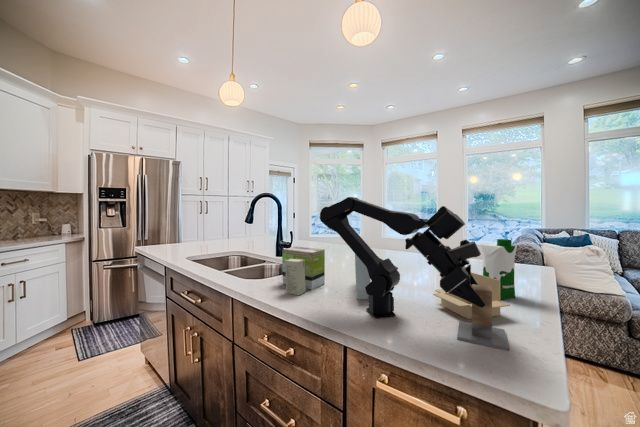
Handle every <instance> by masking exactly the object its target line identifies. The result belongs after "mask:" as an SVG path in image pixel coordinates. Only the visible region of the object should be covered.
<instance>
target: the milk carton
mask: <svg viewBox="0 0 640 427" xmlns="http://www.w3.org/2000/svg"><path fill="white" fill-rule="evenodd" d="M480 248H481V252H482V275H483V276H486V277H490V278H493V279H497V280H500V301H503V300H510V299H515V298H516V290H515V289H516V288H515V259H516V258H515V257H516V253H517V249H518V246H517V245H513V244H512V239H508V238H507V239H506V238H498V239H497V240H496V243H495V242H494V243H482V244H480Z"/></svg>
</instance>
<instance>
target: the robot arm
mask: <svg viewBox="0 0 640 427" xmlns="http://www.w3.org/2000/svg"><path fill="white" fill-rule="evenodd" d="M353 212H355V213H357V214H360V215H363V216H365V217H368V218H371V219H372V220H375V221H378V222H381V223H383V224H384V225H386V226H387V227H388V228H389V229H391V230H393V231H394V232H396V233H398V235H399V234H400V235H402V236H407V235H412V234H414V235H413V236H412V237H411V238H409V237H407V238H405V250H409V249H410V248H412V247H414V248H415V249H416V250H417V251H418V252H419V253H420V254H421V256H423V257H424V258H425V259H426V261H427V264H428V265H429V266H431V265H432V267H434V269H435V270H437V271H438V272H439V276H440V280H439V287H440V288H441V290H442V289H443V290H444V291H445V292H446V293H447V292H448V293H449V294H453V295H455V296H458V297H460V298H462V299H464V300H467V301H469V302H471V303H473V304H475V305H477V306H479V307H484V306H485V303H484V302H483V300H482V299H481V298H480V296H479V295H478V294H477V292H476V291H475V290H474V288H473V287H472V284H476V285H478V283H477V282H476V280H475V279H474V277H473V276H472V274H471V272H472V268H471V267H472V265H471V264H470V260H469V259H473V258H477V257H480V256H481V251H480V249H479V247H478V245H477V243H476V242H475V241H469V240H468V239H462V240H460V242H459V246H456V247H454V248H451V247H450V246H449V245H445V244H443V243H442V241H440V240H442V239H445V240H449V239H450V238H451V237H452V236H454V234H455V233H457V232H458V231H459V230H461V229H462V228H463V227H464V226H465V225H466V223H465V222H464V221H463V219H462V218H461V217H460V216H459V215H458V214H456V213H454V212H453V211H452V210H451V209H449V208H448V207H446V206H445V205H444V206H443V205H442V206H441V207H439V208H438V210H437V211H436V212H435V213H434V214H433V215H432V216H431V217H430V218H429V219H428V218H420V216H418V215H417V214H416V213H413V212H405V211H399V210H391V209H388V208H385V207H382V206H379V205H376V204H373V203H371V202H368V201H366V200H362V199H359V198H358V197H355V196H348V197H346V198H344V199H342V200H340V201H338V202H335V203H334V204H331V205H330V206H324V207H322V208H321V210H320V212H319V221H320V222H321V223H322V224H323V225H325V227H326V228H328V229H329V230H332V231H334V232H336V233H337V234H338V235H339V237H340V238H341V239H342V240H343V241H344V242H345V244H346V245H347V246H348V247H349V248H350V250H352V251H353V253H354V255H355V254H356V255H357V256H358V258H359V259H360V260H361V261H362V262H363V264H364V265H365V266H366V267H367V270H368V274H369V277H370V281H371V282H370V283H369V284H368V285H367V286H366V287H365V289H366V293H367V295H369V300H368V307H367V308H366V311H367V312H368V313H369V314H370V315H371V316H373V317H374V318H376V319H379V318H387V317H395V316H396V313H395V312H394V311H395V297H393V292H392V291H393V290H394V288H395V286H397V285H399V283H400V281H401V274H400V272H399V271H398V269H399V267H397V266H396V265H394V263H393V262H392V261H391V259H390V258H386V259H382V258H380V257H379V256H378V255H377V254H376V253H375V252H374V250H373V249H372V248H371V247H370V246H369V245H368V244H367V243H366V241H365V240H364V239H363V238H362V236H360V235H359V234H358V232H357V231H356V230H355V229H354V228H353V227H352V226H351V224H350V222H349V217H348V216H350V215H351V214H352V213H353ZM424 228H427V229H425V230H424V231H423V232H421V231H419V230H420V229H421V230H422V229H424ZM471 303H470V304H471Z"/></svg>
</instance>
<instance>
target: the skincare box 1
mask: <svg viewBox="0 0 640 427" xmlns="http://www.w3.org/2000/svg"><path fill="white" fill-rule="evenodd" d="M285 270H286V284H285V294H291V295H296V296H300V295H303V294H305V293H306V292H307V291H306V290H307V289H306V286H305V260H300V259H289V260H285Z"/></svg>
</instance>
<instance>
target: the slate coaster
mask: <svg viewBox="0 0 640 427" xmlns="http://www.w3.org/2000/svg"><path fill="white" fill-rule="evenodd" d="M457 327H458V329H457V335H456V340H459V341H464V342H469V343H472V344H478V345H482V346H485V347H486V346H487V347H490V348H491V347H492V348H495V349H496V348H497V349H500V350H506V351H509V350H510V345H509V342H508V338H507V334H506V330H505V328H499V327H494V326H492V339H488V338H483V337H478V336H473V335H472V322H471V323H470V322H466V321H462V320H461V321H460V320H459V321H458V326H457Z"/></svg>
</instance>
